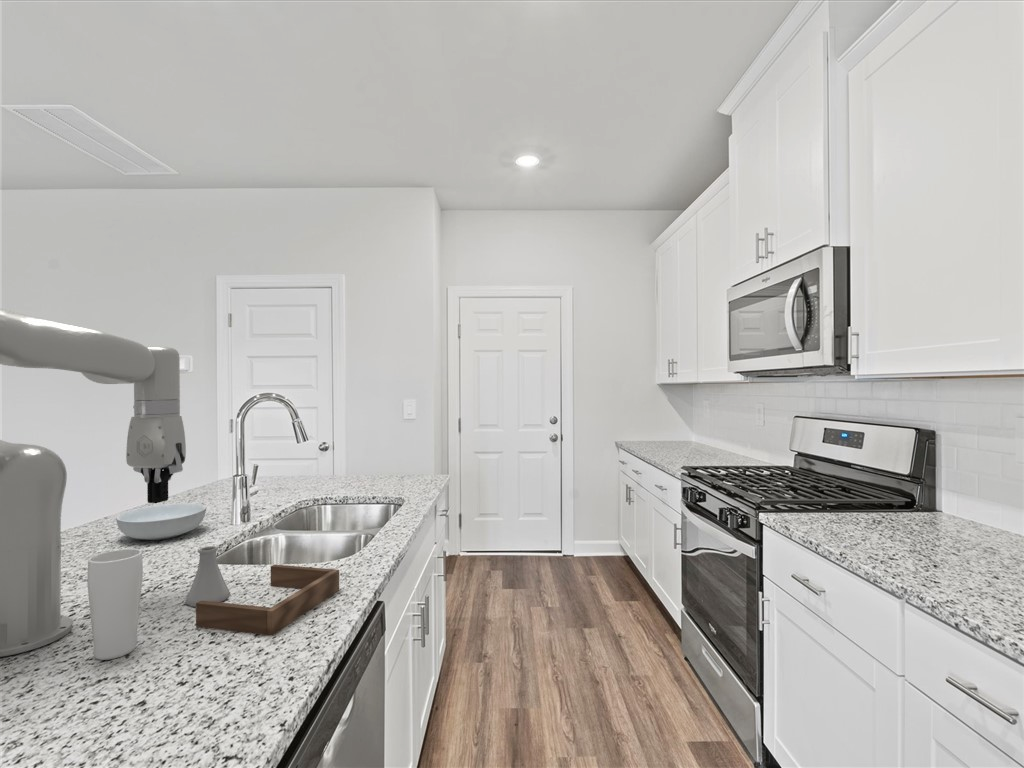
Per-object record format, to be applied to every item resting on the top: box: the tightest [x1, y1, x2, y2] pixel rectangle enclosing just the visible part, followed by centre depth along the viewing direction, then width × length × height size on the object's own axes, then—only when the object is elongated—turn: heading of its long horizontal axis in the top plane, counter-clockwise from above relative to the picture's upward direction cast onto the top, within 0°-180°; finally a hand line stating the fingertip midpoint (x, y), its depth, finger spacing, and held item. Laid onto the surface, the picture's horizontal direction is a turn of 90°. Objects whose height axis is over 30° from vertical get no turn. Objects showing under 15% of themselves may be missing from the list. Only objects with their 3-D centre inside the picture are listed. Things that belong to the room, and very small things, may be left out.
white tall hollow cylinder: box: [86, 548, 144, 661], centre depth 80 cm, size 7×7×15 cm
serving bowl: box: [115, 502, 207, 541], centre depth 145 cm, size 21×21×7 cm
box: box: [195, 564, 340, 636], centre depth 97 cm, size 20×15×4 cm
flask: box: [184, 545, 231, 608], centre depth 100 cm, size 7×7×10 cm
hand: (158, 501), depth 103 cm, fingers closed
